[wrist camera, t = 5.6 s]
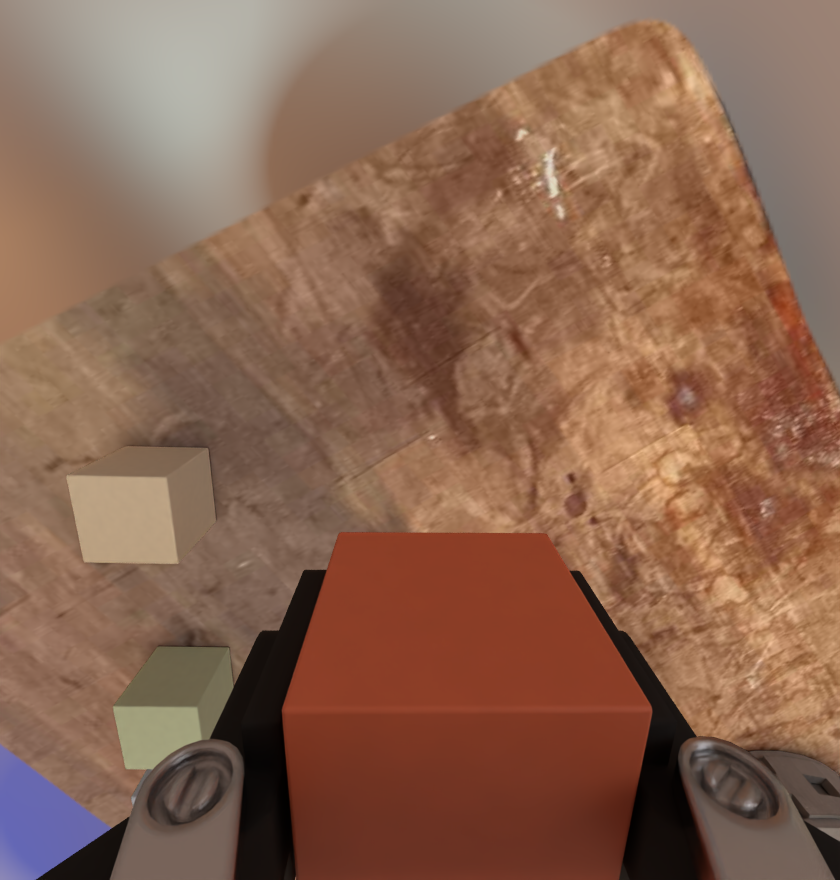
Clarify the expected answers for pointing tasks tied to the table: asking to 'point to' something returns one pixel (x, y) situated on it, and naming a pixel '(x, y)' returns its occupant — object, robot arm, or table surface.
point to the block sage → (172, 702)
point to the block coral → (459, 717)
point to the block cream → (143, 504)
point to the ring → (808, 788)
